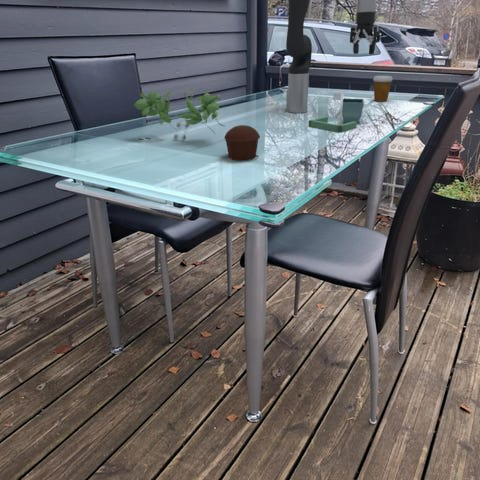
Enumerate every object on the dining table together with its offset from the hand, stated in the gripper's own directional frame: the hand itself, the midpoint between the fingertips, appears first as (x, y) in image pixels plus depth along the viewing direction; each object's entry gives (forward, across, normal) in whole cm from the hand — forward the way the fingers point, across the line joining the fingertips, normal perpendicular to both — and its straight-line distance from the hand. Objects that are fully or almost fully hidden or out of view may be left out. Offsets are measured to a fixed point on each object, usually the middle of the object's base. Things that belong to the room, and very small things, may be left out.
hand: (363, 54), depth 192 cm
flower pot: (+26, +6, -11) cm, 29 cm away
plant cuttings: (+24, -15, -78) cm, 84 cm away
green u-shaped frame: (+26, +7, -24) cm, 36 cm away
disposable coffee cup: (+26, -21, +36) cm, 49 cm away
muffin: (+25, +20, -76) cm, 82 cm away
